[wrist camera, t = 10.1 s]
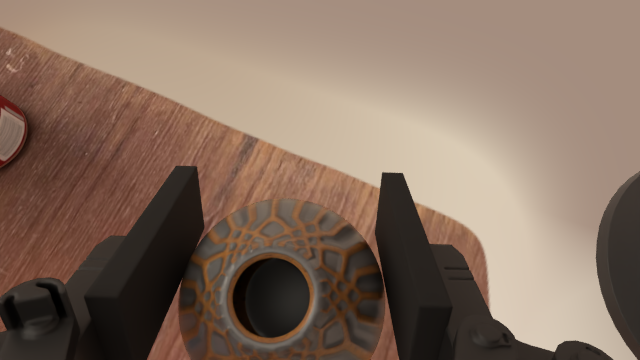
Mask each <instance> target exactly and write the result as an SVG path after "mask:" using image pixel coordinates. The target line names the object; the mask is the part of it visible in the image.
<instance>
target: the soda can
mask: <svg viewBox="0 0 640 360" xmlns="http://www.w3.org/2000/svg"><path fill="white" fill-rule="evenodd" d="M27 132H28V125H27V120H26V117H25V115H24V114H23V112H22V111H21V110H20V109H19V108H18V107H17V106H16V105H15V104H13V103H12V102H10V101H9V100H7V99H5V98H4V97H2V96H1V95H0V168H1V167H3V166H4V165H6V164H7V163H9V162H10V161H11V160H12V159H14V158H15V157H16V155H17V154H18V153H19V152H20V150H21V149H22V147H23V145H24V143H25V141H26V137H27Z"/></svg>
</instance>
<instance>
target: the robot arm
mask: <svg viewBox="0 0 640 360" xmlns="http://www.w3.org/2000/svg"><path fill="white" fill-rule="evenodd" d="M203 230H204V220H203V212H202V204H201V196H200V188H199V179H198V171H197V167H196V166H176V167H175V168H174V170H173V171H172V172H171V174H170V175H169V177H168V178H167V179H166V181H165V182H164V184H163V185H162V186H161V188H160V189H159V191H158V192H157V194H156V195H155V196H154V198H153V199H152V201H151V202H150V203H149V205H148V206H147V208H146V209H145V210H144V212H143V213H142V215H141V216H140V217H139V219H138V220H137V222H136V223H135V225H134V226H133V227H132V229H131V230H130V232H129V233H128V234H127V236H110V237H108V238H107V239H105V240H104V241H102V242H101V243H99V244H98V245H96V246H95V248H94V249H93V250H92V251H91V253H90V254H89V255H88V256H87V258H86V260H84V262H83V263H82V264H81V265H80V267H79V270H76V272H75V273H74V274H73V275H72V277H71V278H70V279H69V280H68V282H67V283H66V284H65V285H64V284H63V283H62V282H61V281H60V280H59V279H54V278H37V279H34V280H30V281H27V282H24V283H22V284H20V285H18V286H16V287H13V288H12V289H10V290H9V291H8V292H6V293H5V294H4V295H2V296H1V298H0V316H1V318H2V320H3V322H4V325H5V327H6V329H7V331H4V332H0V360H147V357H148V355H149V353H150V351H151V348H152V346H153V344H154V342H155V339H156V337H157V335H158V332H159V330H160V328H161V326H162V323H163V321H164V319H165V316H166V314H167V312H168V310H169V307H170V305H171V303H172V301H173V298H174V296H175V294H176V291H177V289H178V287H179V285H180V282H181V280H182V278H183V275H184V272H185V269H186V267H187V264H188V262H189V260H190V258H191V256H192V254H193V252H194V250H195V248H196V246H197V244H198V241H199V239H200V237H201V235H202V232H203ZM375 236H376V241H377V246H378V251H379V257H380V262H381V267H382V272H383V277H384V283H385V288H386V293H387V298H388V304H389V309H390V314H391V319H392V324H393V330H394V335H395V340H396V345H397V350H398V356H399V360H613V359H612V358H611V357H610V356H608V355H607V354H606V353H604V352H603V351H602V350H600V349H598V348H596V347H594V346H592V345H590V344H587V343H583V342H579V341H565V342H563V343H561V344H559V345H558V347H557V349H556V351H555V352H552V351H549V350H545V349H542V348H538V347H535V346H531V345H528V344H525V343H522V342H520V341H518V340H516V339H515V337H514V335H513V334H512V333H511V331H510V330H509V329H508V328H507V327H506V326H504V325H503V324H502V323H500V322H499V321H497V320H495V319H493V317H492V316H491V313H490V311H489V309H488V307H487V305H486V303H485V301H484V298H483V296H482V294H481V292H480V290H479V288H478V286H477V284H476V282H475V281H474V277H473V275H472V273H471V271H470V270H469V267H468V265H467V263H466V261H465V259H464V256H463V255H462V254H461V253H460V252H459V251H458V250H456V249H455V248H454V247H453V246H452V245H442V244H429V242H428V239H427V236H426V234H425V231H424V228H423V226H422V223H421V220H420V218H419V215H418V212H417V210H416V207H415V204H414V202H413V199H412V196H411V194H410V191H409V188H408V186H407V183H406V181H405V178H404V175H403V173H382V179H381V187H380V195H379V203H378V212H377V220H376V229H375Z"/></svg>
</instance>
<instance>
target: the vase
mask: <svg viewBox="0 0 640 360" xmlns="http://www.w3.org/2000/svg"><path fill="white" fill-rule="evenodd" d="M178 313H179V324H180V330H181V335H182V338H183V342H184V345H185V347H186V350H187V352H188V354H189V357H190V359H191V360H370V359H371V357H372V355H373V353H374V351H375V349H376V347H377V344H378V341H379V338H380V335H381V332H382V328H383V323H384V315H385V291H384V284H383V279H382V275H381V271H380V268H379V265H378V263H377V260H376V258H375V256H374V254H373V252H372V250H371V248H370V247H369V245H368V244H367V242H366V241H365V239H364V238H363V237H362V235H361V234H360V233H359V232H358V231H357V230H356V229H355V228H354V227H353V226H352V225H351V224H350V223H349V222H348V221H347V220H345V219H344V218H343V217H341V216H340V215H338V214H337V213H335V212H333V211H331V210H329V209H328V208H325V207H323V206H321V205H318V204H315V203H312V202H308V201H304V200H298V199H271V200H265V201H260V202H257V203H253V204H251V205H248V206H245V207H243V208H241V209H239V210H237V211H235V212H233V213H232V214H230V215H229V216H227V217H225V218H224V219H223V220H221V221H220V222H219V223H218V224H217V225H215V226H214V227H213V228H212V229H211V230H210V231H209V232H208V233H207V234H206V236H205V237H204V238H203V239H202V240H201V242H200V243H199V245H198V246H197V248H196V249H195V251H194V252H193V254H192V256H191V258H190V260H189V262H188V264H187V267H186V269H185V272H184V275H183V279H182V282H181V287H180V293H179V305H178Z"/></svg>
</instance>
